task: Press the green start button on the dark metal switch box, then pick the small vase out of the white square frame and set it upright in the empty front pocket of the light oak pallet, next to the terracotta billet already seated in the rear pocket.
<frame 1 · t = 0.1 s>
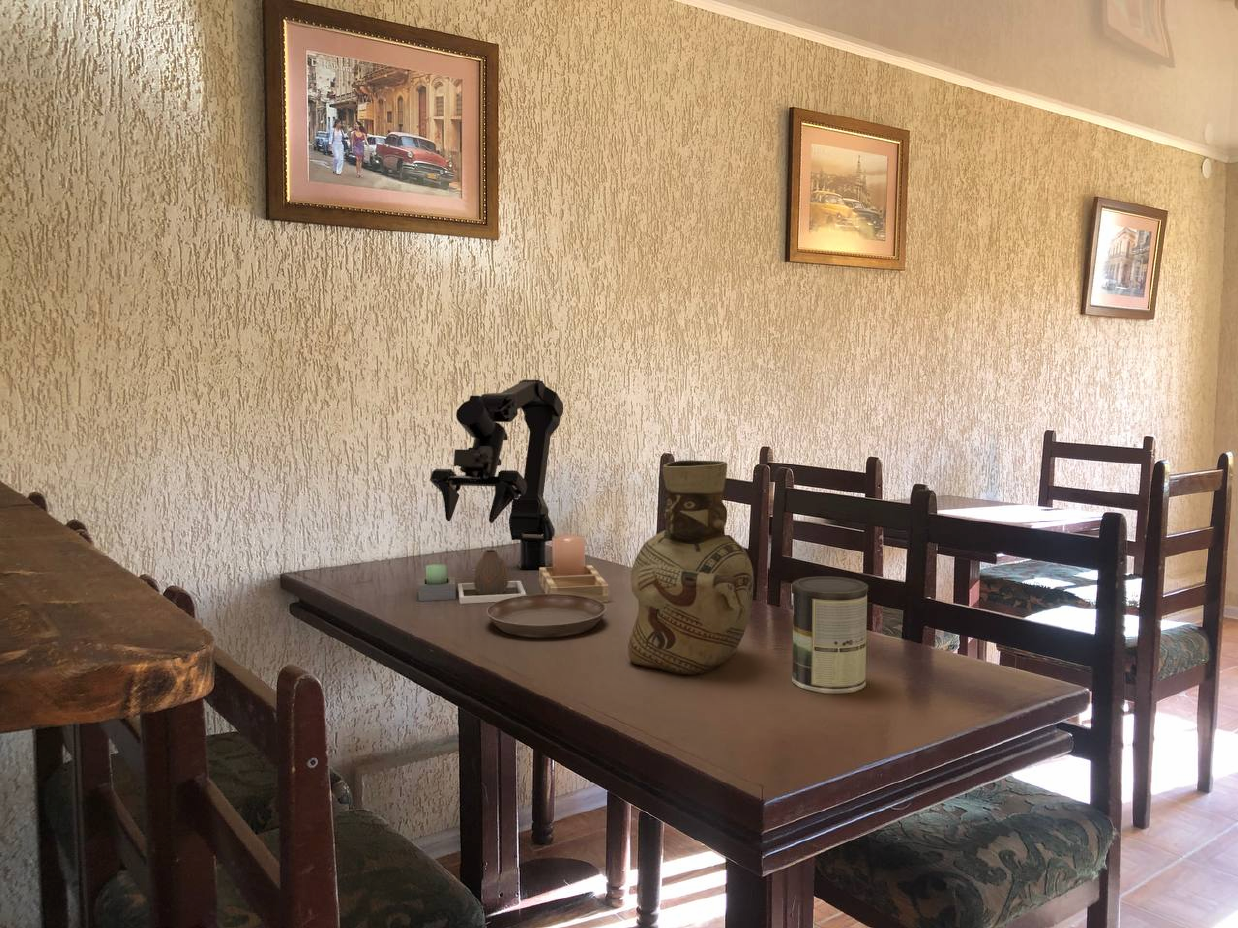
hand: (469, 521, 190), 15 cm above the table, tool tilted 30°, fingers open, 9 cm apart
white square frame: (491, 594, 194), on the table
start button: (436, 577, 192), point 4 cm above the table, slide at 0.0 cm
vase: (491, 595, 194), resting in white square frame
coffee can: (828, 683, 138), on the table
plant saucer: (546, 627, 171), on the table
ceramic vessel: (690, 660, 150), on the table
pallet: (572, 591, 196), on the table
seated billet: (569, 586, 201), resting on pallet
button housing: (437, 596, 193), on the table
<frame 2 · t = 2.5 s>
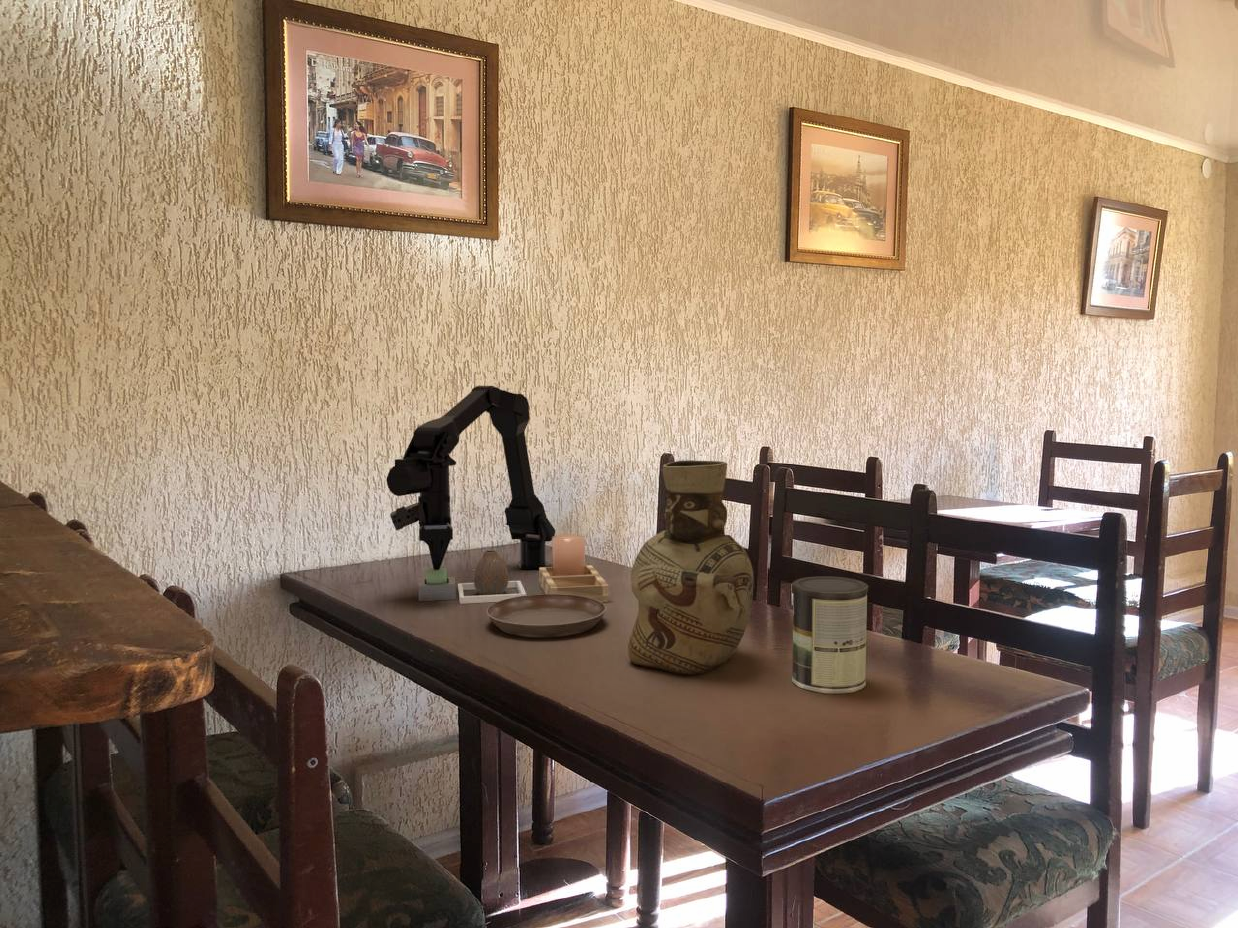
hand: (436, 569, 192), 5 cm above the table, tool pointing down, fingers closed, pressing on start button
start button: (436, 580, 192), point 3 cm above the table, slide at 0.7 cm, touching gripper
everything else where it was.
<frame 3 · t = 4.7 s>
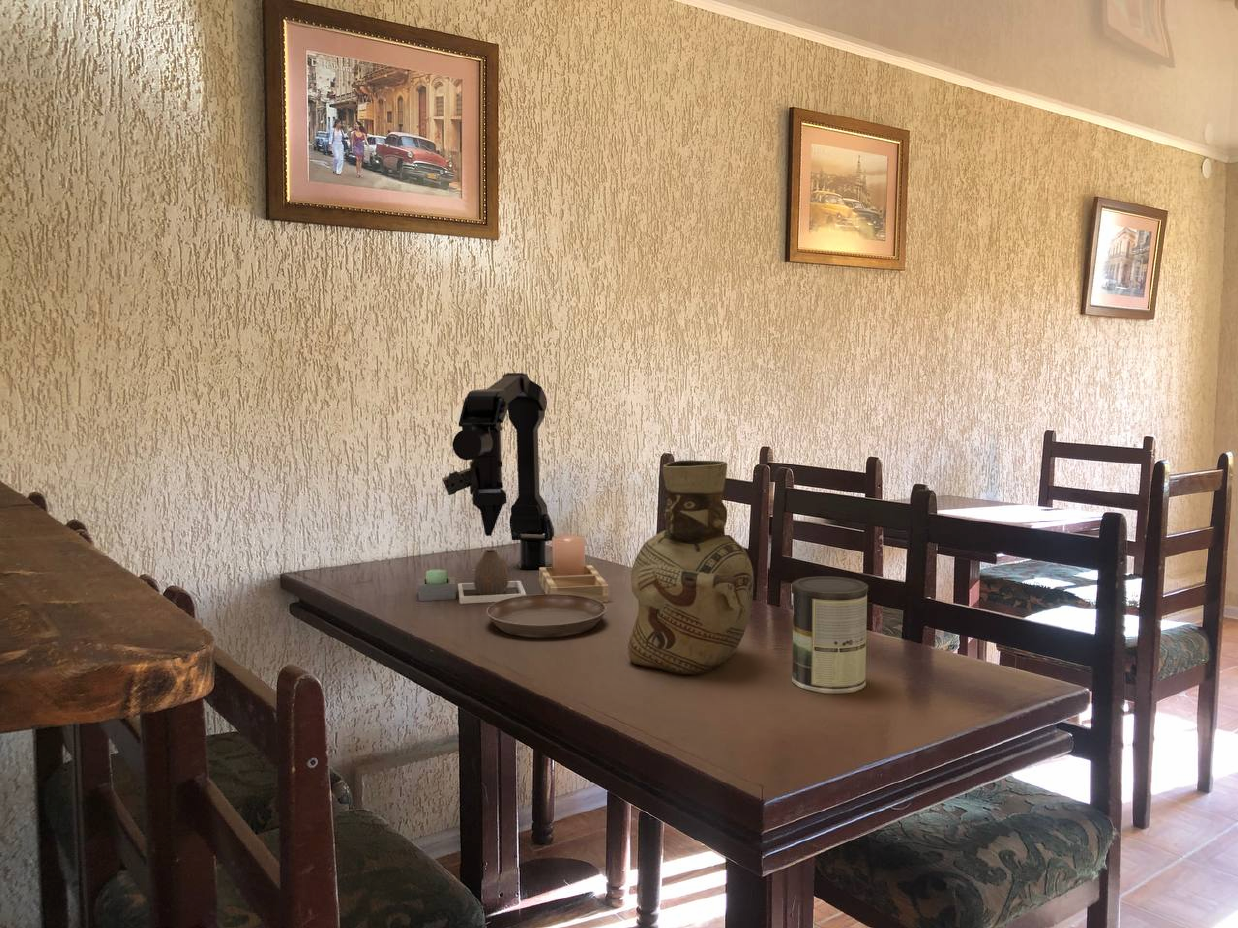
hand: (488, 534, 193), 12 cm above the table, tool pointing down, fingers closed
start button: (436, 582, 192), point 3 cm above the table, slide at 1.1 cm
everything else where it was.
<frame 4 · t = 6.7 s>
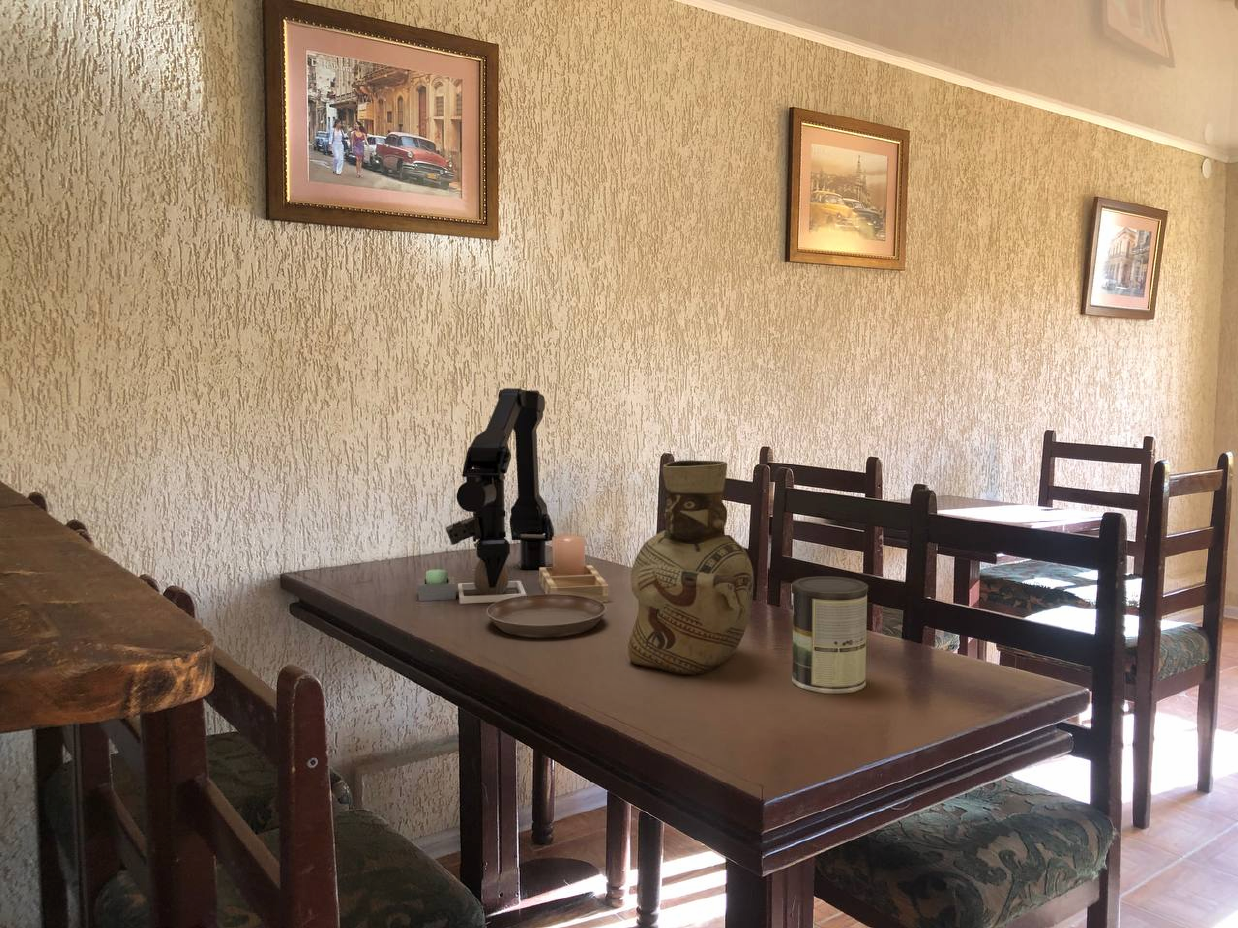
hand: (491, 583, 194), 2 cm above the table, tool pointing down, fingers closed on vase, 7 cm apart
vase: (491, 595, 194), resting in white square frame, touching gripper
everything else where it was.
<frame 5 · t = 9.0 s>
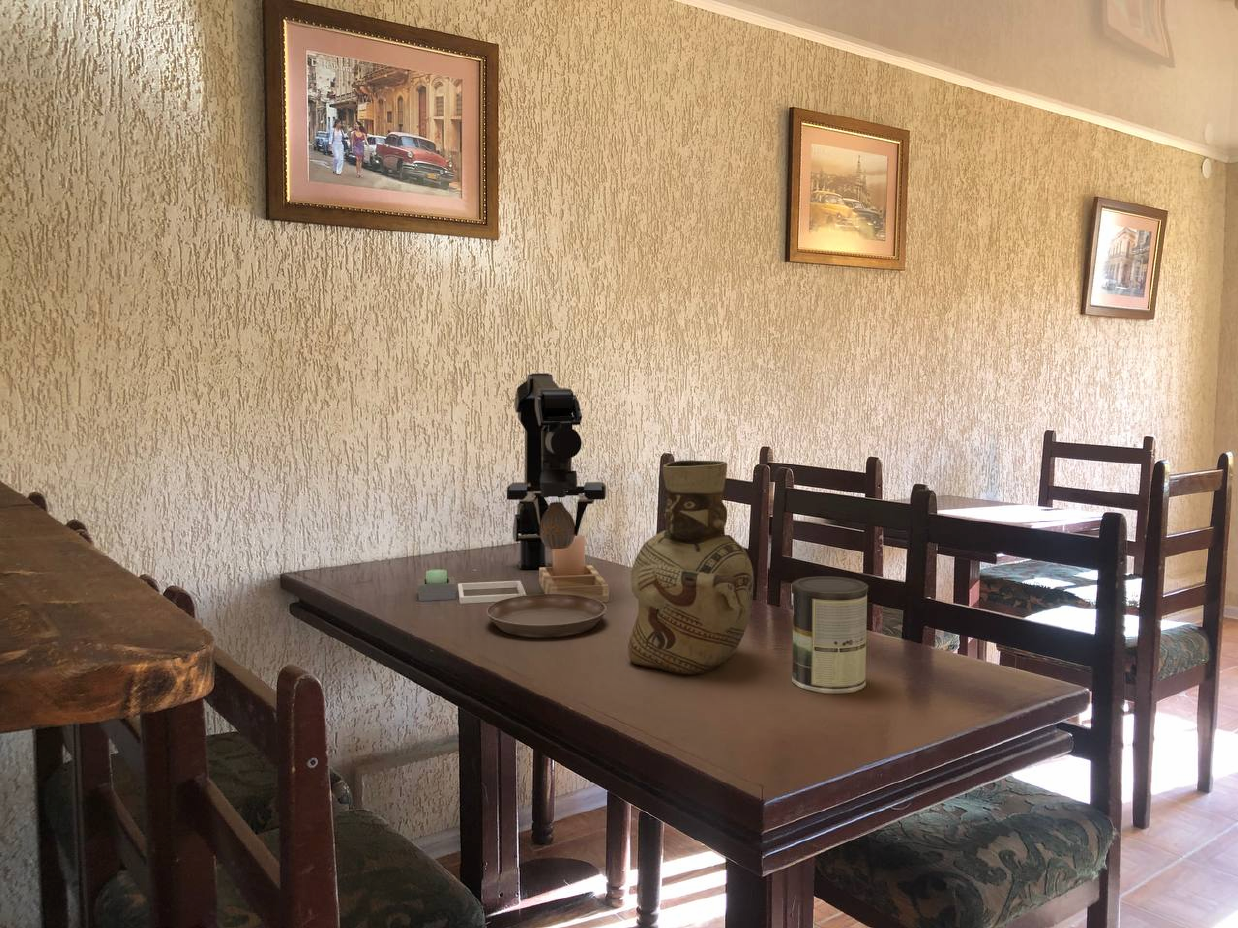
hand: (557, 535, 190), 12 cm above the table, tool pointing down, fingers closed on vase, 7 cm apart
vase: (558, 548, 190), point 10 cm above the table, touching gripper
everything else where it was.
when the fingers open (4 cm above the table, at t = 11.2 s): vase stays where it is, resting on pallet.
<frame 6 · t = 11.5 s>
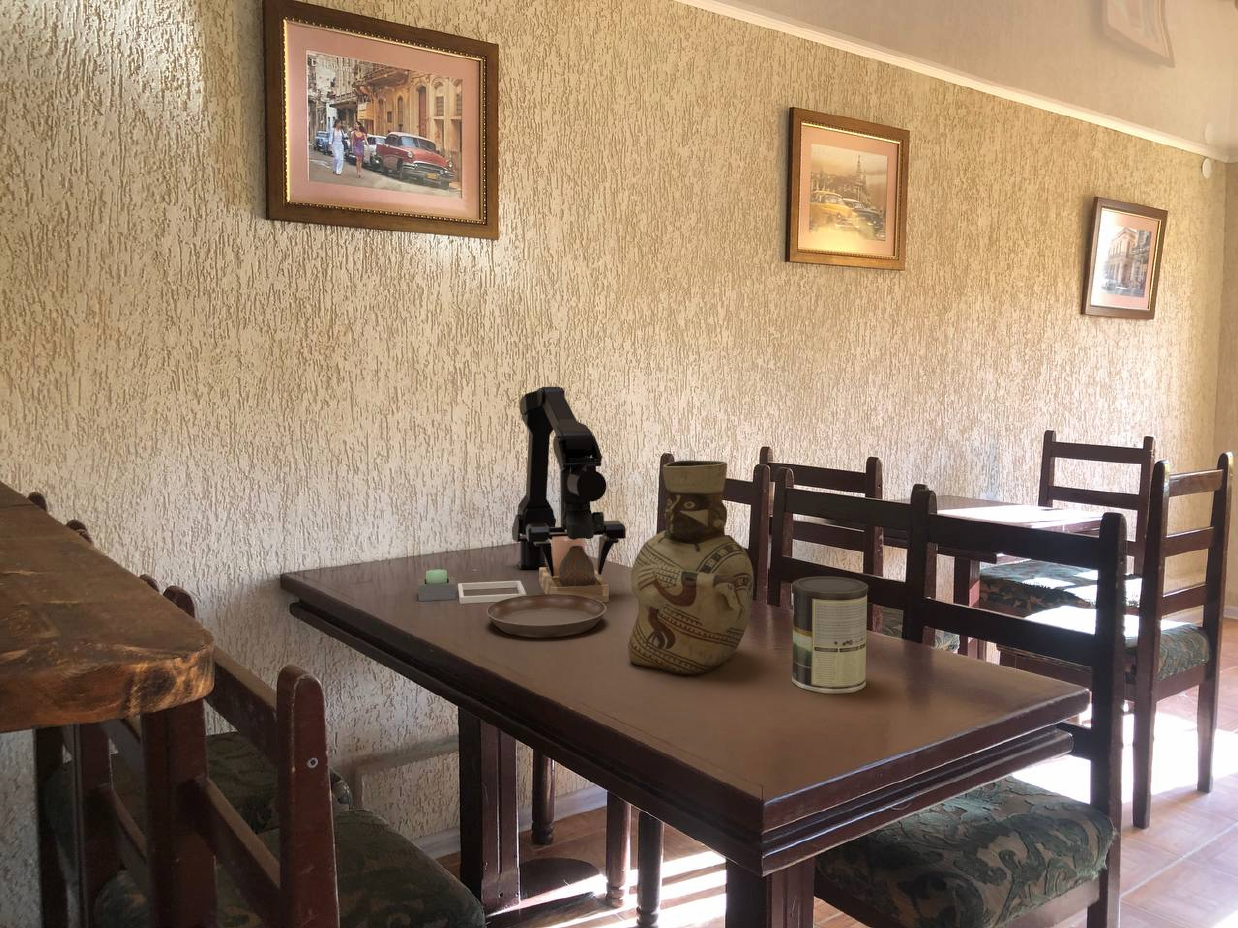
hand: (576, 575, 190), 4 cm above the table, tool pointing down, fingers open, 9 cm apart
vase: (577, 592, 191), point 1 cm above the table, touching pallet
everything else where it was.
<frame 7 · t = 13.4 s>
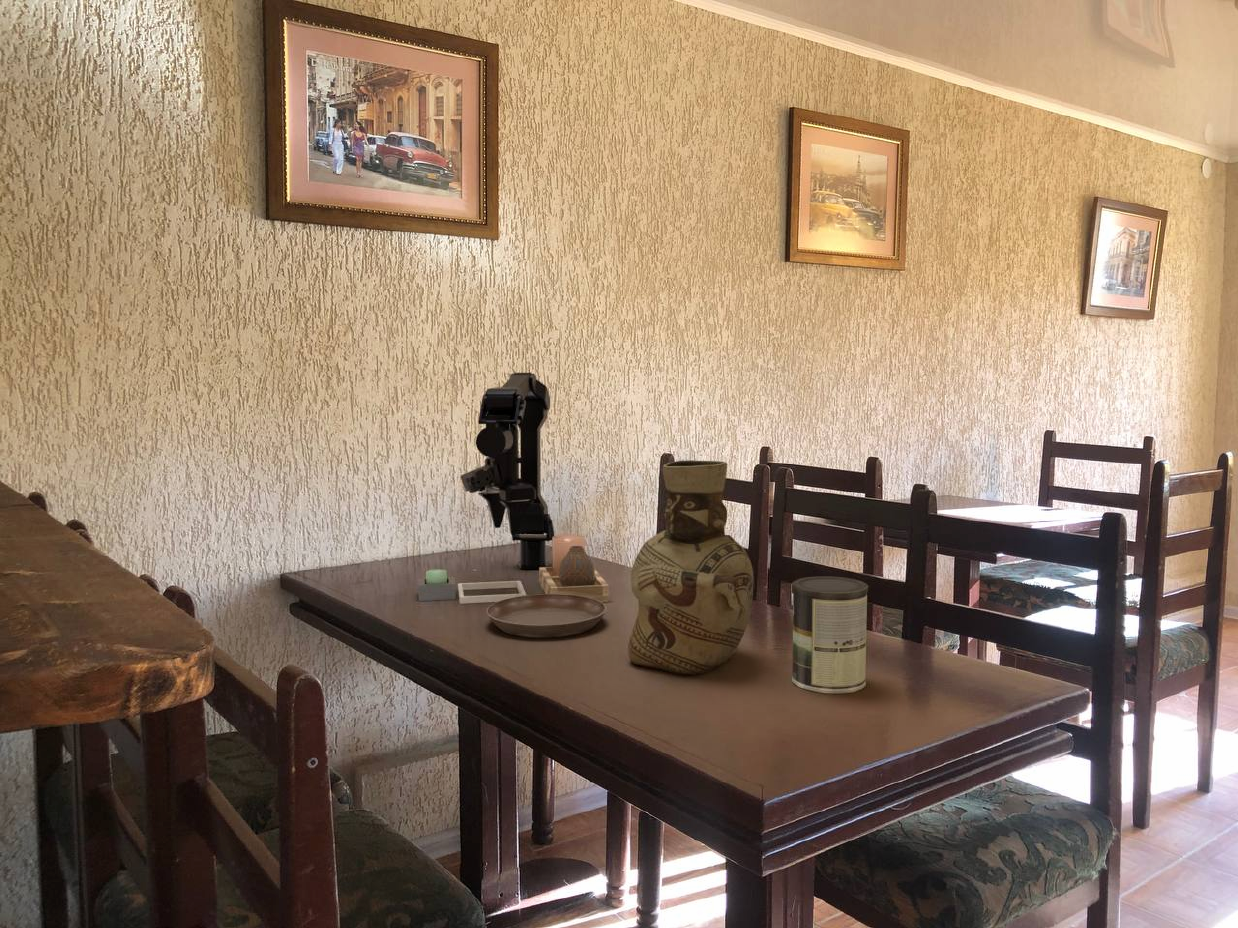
hand: (505, 531, 195), 12 cm above the table, tool pointing down, fingers open, 9 cm apart
nothing on the table moved.
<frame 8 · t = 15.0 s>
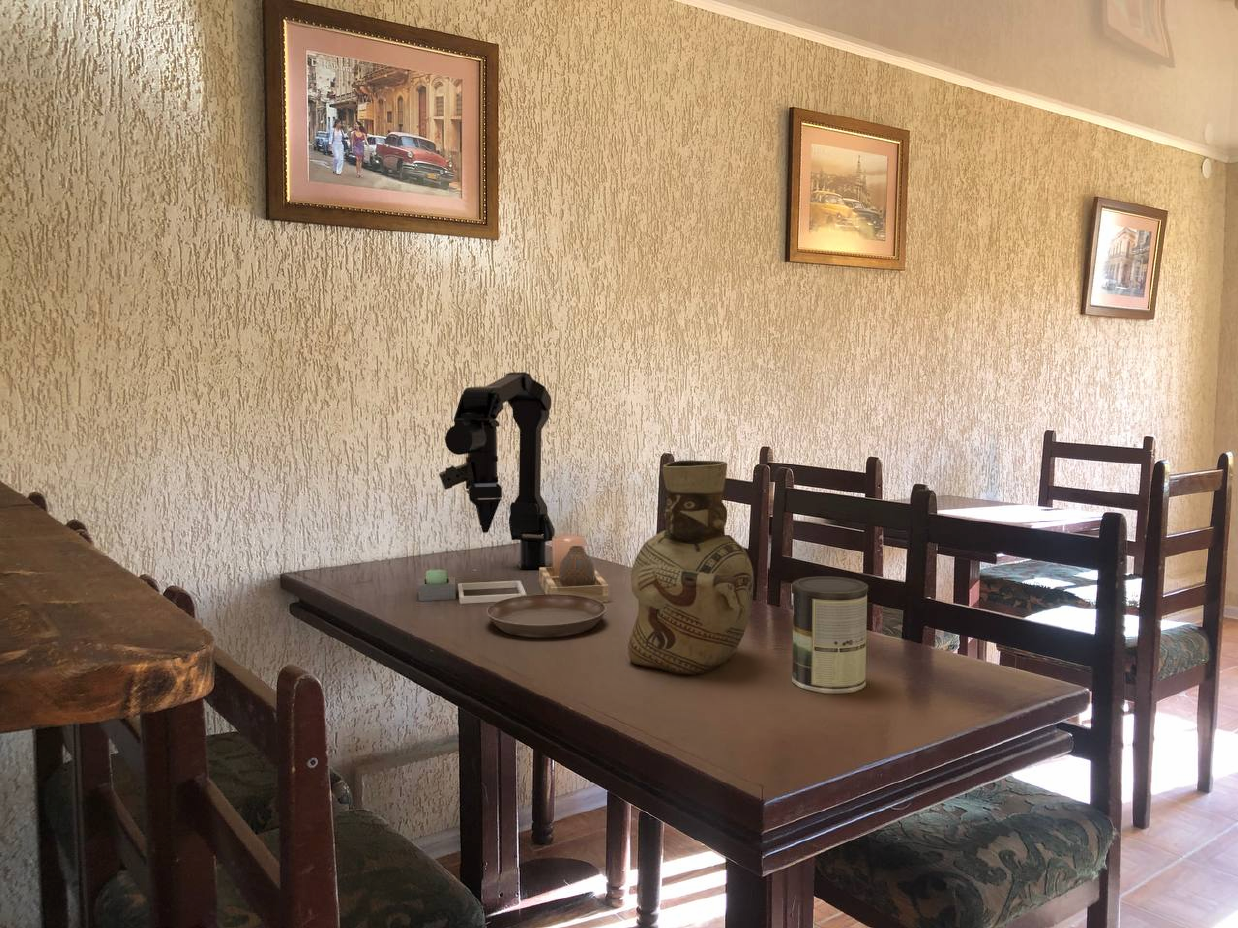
hand: (483, 528, 196), 13 cm above the table, tool pointing down, fingers open, 9 cm apart
nothing on the table moved.
at the end: vase 0.2 cm from the target spot on the pallet, point 1.0 cm above the pallet's base; vase tilted 0°; start button slide at 1.1 cm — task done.
